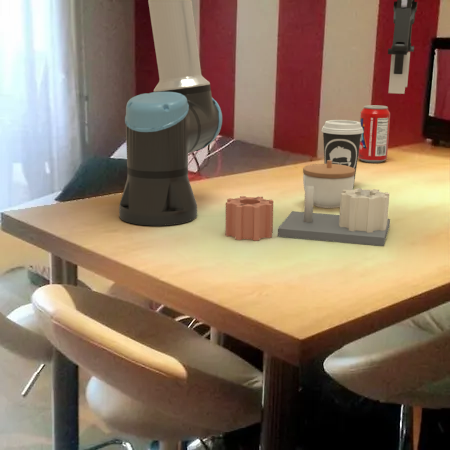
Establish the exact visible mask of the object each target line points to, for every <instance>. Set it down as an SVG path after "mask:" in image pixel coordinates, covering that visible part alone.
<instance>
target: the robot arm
mask: <svg viewBox="0 0 450 450" xmlns="http://www.w3.org/2000/svg"><path fill="white" fill-rule="evenodd" d="M147 2H148V7H149V16H150V23H151V29H152V37H153V42H154V43H153V44H154V49H155V51H154V52H155V56H156V64H157V70H158V78H159V80H158V83H157V84H156V86H155V88H154V89H153V92H149V93H146V92H145V93H140V94H138V95H135V96H132V97H131V98H130V99H129V100H128V101H127V103H126V106H125V116H124V124H125V138H126V139H125V141H126V142H125V143H126V144H125V145H126V164H127V165H126V167H127V169H126V171H127V176H126V182H125V185H124V189H123V193H122V195H121V200H120V202H119V206H118V212H119V219H120V220H122V221H123V222H125V223H129V224H132V225H138V226H139V225H141V226H149V227H150V226H152V227H153V226H154V227H155V226H159V227H160V226H173V225H181V224H184V223H188V222H191V221H193V220H195V219H196V218H197V217H198V203H197V201H196V198H195V195H194V191H193V189H192V186H191V183H190V179H189V154H191V153H193V152H198V151H201V150H203V149H205V148H207V146H209V145H210V144H211V143H213V142H214V141H215V139H216V138H217V137H218V136H219V133H220V132H221V130H222V126H223V113H222V110H221V109H222V108H221V107H220V105H219V103H218V102H217V100H215V99H214V98H213V96H212V90H211V83H210V81H209V80H207V79H206V78H205V77H204V76H203V75H202V68H201V63H200V55H199V46H198V41H197V40H198V39H197V33H196V32H197V30H196V24H195V18H194V9H193V2H192V0H148V1H147ZM417 9H418V1H416V0H396V1H395V0H394V1H393V24H394V28H393V38H392V45H391V47H390V48H388V49H387V55H391V57H390V70H389V81H388V82H389V83H388V91H387V92H388V93H387V94H397V95H398V94H399V95H401V94H403V95H405V94H406V93H405V92H406V91H405V90H406V88H408V81H409V72H410V61H411V60H410V59H411V52H413V53H414V50H415V45H412V32H413V31H412V29H413V25H414V24H415V18H416V13H417V12H418V11H417Z"/></svg>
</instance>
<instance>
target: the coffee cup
mask: <svg viewBox="0 0 450 450" xmlns="http://www.w3.org/2000/svg"><path fill="white" fill-rule="evenodd" d="M320 132H322V134H323V135H322V137H323V139H322V140H323V156H324V157H323V159H324V160H323V161H324V162H323V164H327V160H331V161H332V164H339V165H346V166H350V167H352V168H354V169H355V175H354V182H355V179H356V174H357V168H358V167H357V165H358V159H359V158H358V153H359V147H360V140H361V134H362V133H364V131H363V128H362V127H361V123H360V121H357V120H349V119H331V120H326V121H325V122H324V124H323V125H322V128H321V130H320ZM354 187H355V184H354V185H353V189H354Z"/></svg>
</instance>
